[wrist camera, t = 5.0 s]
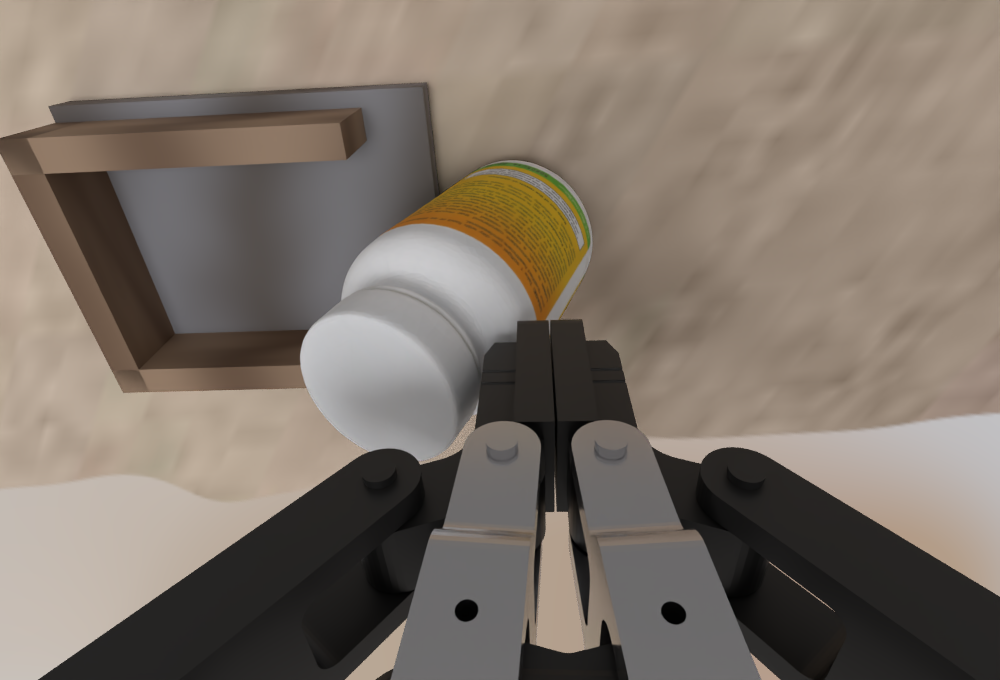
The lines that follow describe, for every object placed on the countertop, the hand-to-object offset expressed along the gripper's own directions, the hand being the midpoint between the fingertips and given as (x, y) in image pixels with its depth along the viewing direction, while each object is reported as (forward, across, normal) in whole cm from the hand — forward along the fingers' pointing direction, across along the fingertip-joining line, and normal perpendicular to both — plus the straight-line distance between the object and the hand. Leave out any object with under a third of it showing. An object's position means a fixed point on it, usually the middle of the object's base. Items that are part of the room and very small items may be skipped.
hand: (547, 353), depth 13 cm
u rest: (+8, +10, 0) cm, 13 cm away
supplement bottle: (+8, +1, 0) cm, 8 cm away
